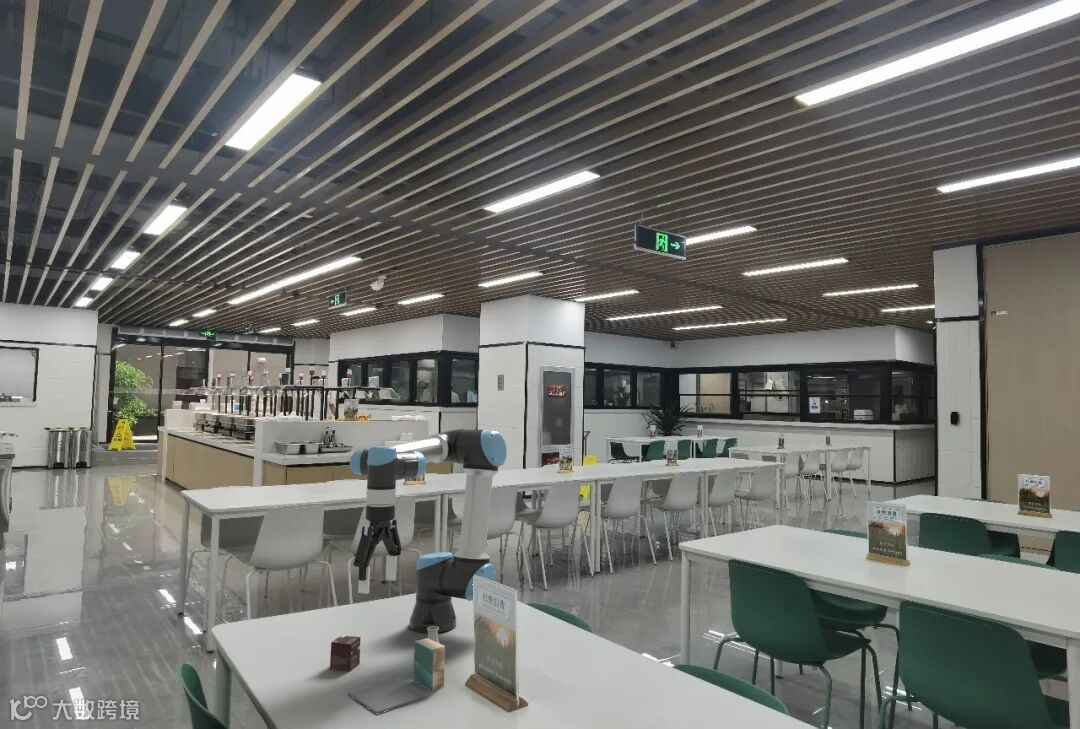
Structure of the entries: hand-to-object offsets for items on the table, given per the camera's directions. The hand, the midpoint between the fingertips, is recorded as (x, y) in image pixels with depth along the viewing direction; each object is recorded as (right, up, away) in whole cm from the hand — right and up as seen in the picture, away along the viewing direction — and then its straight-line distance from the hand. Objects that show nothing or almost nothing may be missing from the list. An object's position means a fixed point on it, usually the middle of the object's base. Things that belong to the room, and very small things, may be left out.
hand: (377, 586), depth 174 cm
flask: (+13, -25, +10) cm, 30 cm away
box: (-11, -25, +7) cm, 28 cm away
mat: (+5, -24, -11) cm, 26 cm away
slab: (+14, -24, -2) cm, 28 cm away
